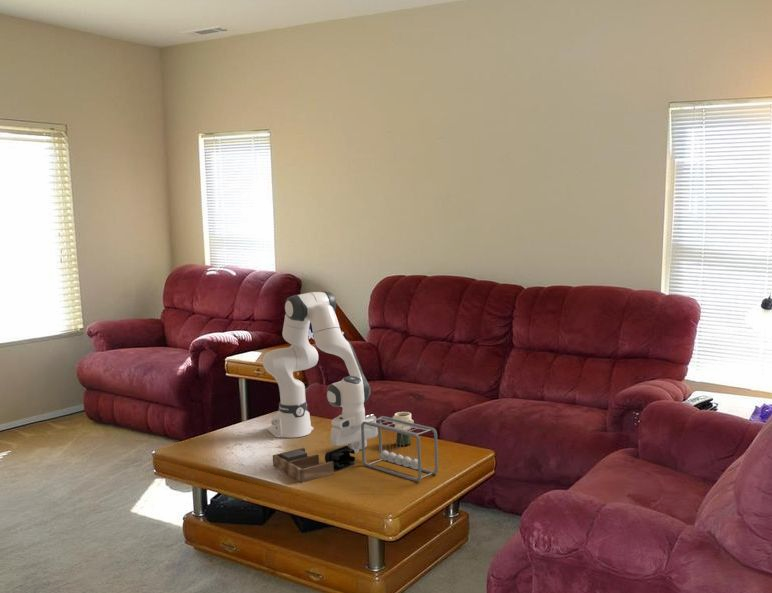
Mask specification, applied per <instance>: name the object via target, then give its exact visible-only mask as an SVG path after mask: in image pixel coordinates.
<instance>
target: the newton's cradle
mask: <svg viewBox="0 0 772 593" xmlns="http://www.w3.org/2000/svg"><path fill="white" fill-rule="evenodd" d="M375 420H376V421H378V422H376V423H374V422H372V421H375ZM375 420H372V421H369V422H363V423H362V424H361V437H362V450H361V456H362V457H361V459H362V463H363V465H364V466H365V467H367V468H371V469H374V470H377V471H380V472H383V473H387V474H390V475H394V476H396V477H400V478H403V479H406V480H410V481H412V482H416V483H417V482H420V481H421V479H423V478H425V477H428V476H431V475H436V474H438V472H439V456H438V455H439V452H438V451H439V450H438V448H439V447H438V432H437V430H436V429H435V428H434V427H431V426H426V425H421V424H418V423H410V422H406V421H402V420H397V419H393V417H389V416H385V415H381V416H379V417H378V418H376V419H375ZM382 421H384V422H382ZM389 422H390V423H391V424H389ZM383 423H387V425H385V424H383ZM394 423H397V424H402V427H403V425H406V426H410V427H413V428H414V429H412V430H411V429H410V430H409V431H406V430H402V429H398V428H395V426H394V427H393V426H390V425H395V424H394ZM364 425H369V426H373V427H377V431H378V449H379V450H378V453H379V454H378V455H379V458H380V459H379V460H378V459H377V460H376V461H373V462H371V463H368V462H367V461H366V447H365V439H364ZM382 429H383V430H386V436H385V439H387V438H388V441H390V439H389V436H388V435H389V433H388V432H393V435H396V434H397V433H401V437H402V439H403V436H402V434H405V435H409V436H410V437H413V438H415V439H416V441H415V442H416V443H415V444H416V445H415V448H416V454H415V455H414V454H412V456H413V459H412V458H411V457H410V456H408V454H409V450H407V454H406V453H404V455H405V456H403V455H402V454H401V453H397V454H396V453H395V452H393V450H394V447H392V449H391V448H389V451H390V452H389V451H388V450H387V449H386V448H387V447H386V445H387V443H385V446H384V447H383V445H384V442H383V436H382ZM418 429H419V430H423V431H422V432H418V431H419V430H418ZM414 430H416V432H414ZM429 431H432V433H433V443H434V444H433V445H434V447H433V448H434V470H431V469H430V470H429V469H426V468H424V467H422V458H421V457H422V456H421V455H422V454H421V453H422V452H421V450H422V449H421V438H420V436H419V435H422V434H425V433H427V432H429ZM396 439H397V436H394V437H393V439H392V440H393V441H392V442H393V443H394V440H395V441H396ZM411 440H412V439H410V442H411V443H410V445H411V448H413V446H412V441H411ZM388 444H389V446H391V443H390V442H388ZM395 444H396V446H398V444H397V443H396V442H395ZM402 446H405V445H404V442H403V445H401V444H400V445H399V448H396V449H397V452H399V450H398V449H401V448H402ZM407 446H409V440H408V444H407ZM403 450H404V451H406V448H405V447H403ZM411 450H412V451H411V452H412V453H414V450H413V449H411ZM380 461H386V462H389V463H393V464H396V465H400V466H403V467H405V468H411V469H412V470H417V478H416V477H413V476H410V475H407V474H403V473H401V472H396V471H393V470H390V469H387V468H383V467H380V466H377V465H373V464H375V463H377V462H380ZM422 472H424V473H426V475H424V476H422Z"/></svg>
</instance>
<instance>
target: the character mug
mask: <svg viewBox="0 0 772 593" xmlns="http://www.w3.org/2000/svg"><path fill="white" fill-rule="evenodd" d="M392 418H393V419H397V420H402V421H406V422H410V423H414V422H415V421H414V420H413V419H412V413H411V412H409V411H401V412H400V411H399V412H396V413H394V415H393V416H392ZM414 424H415V423H414ZM393 425H394V427H395V428H398V429H402V430H406V431H409V430H410V431H411V429H413V428H414V427H410V426H406V425H403V427H402V424H397V423H394V424H393ZM402 436H403V439H402V437H401V433H397V432H396V440H395V444H396V443H397V446H400V444H401V446H405V445H406V446H408V440H409V444H410V445H411V444H412V441H411V442H410V439H411V436H409V435H405V434H402ZM411 440H412V439H411ZM403 442H404V445H403Z"/></svg>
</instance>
